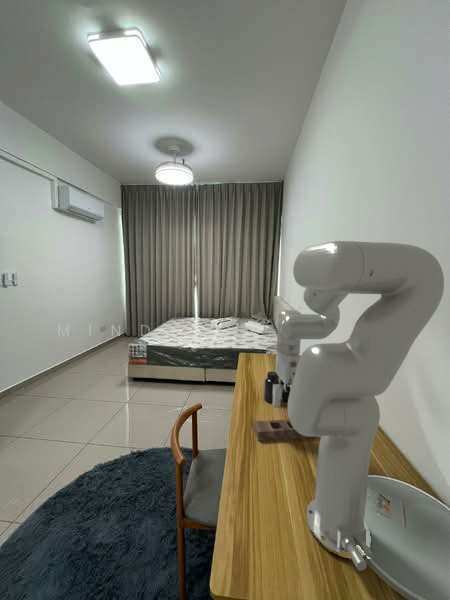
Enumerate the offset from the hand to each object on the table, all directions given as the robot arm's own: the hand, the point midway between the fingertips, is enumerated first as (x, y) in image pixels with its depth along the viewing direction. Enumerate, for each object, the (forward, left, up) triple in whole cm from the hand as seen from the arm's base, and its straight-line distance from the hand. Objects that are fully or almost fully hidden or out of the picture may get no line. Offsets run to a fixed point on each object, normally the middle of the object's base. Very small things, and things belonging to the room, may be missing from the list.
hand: (284, 398), depth 84 cm
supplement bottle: (+22, -3, -12) cm, 26 cm away
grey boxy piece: (0, 0, -2) cm, 2 cm away
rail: (-1, 0, -12) cm, 12 cm away
